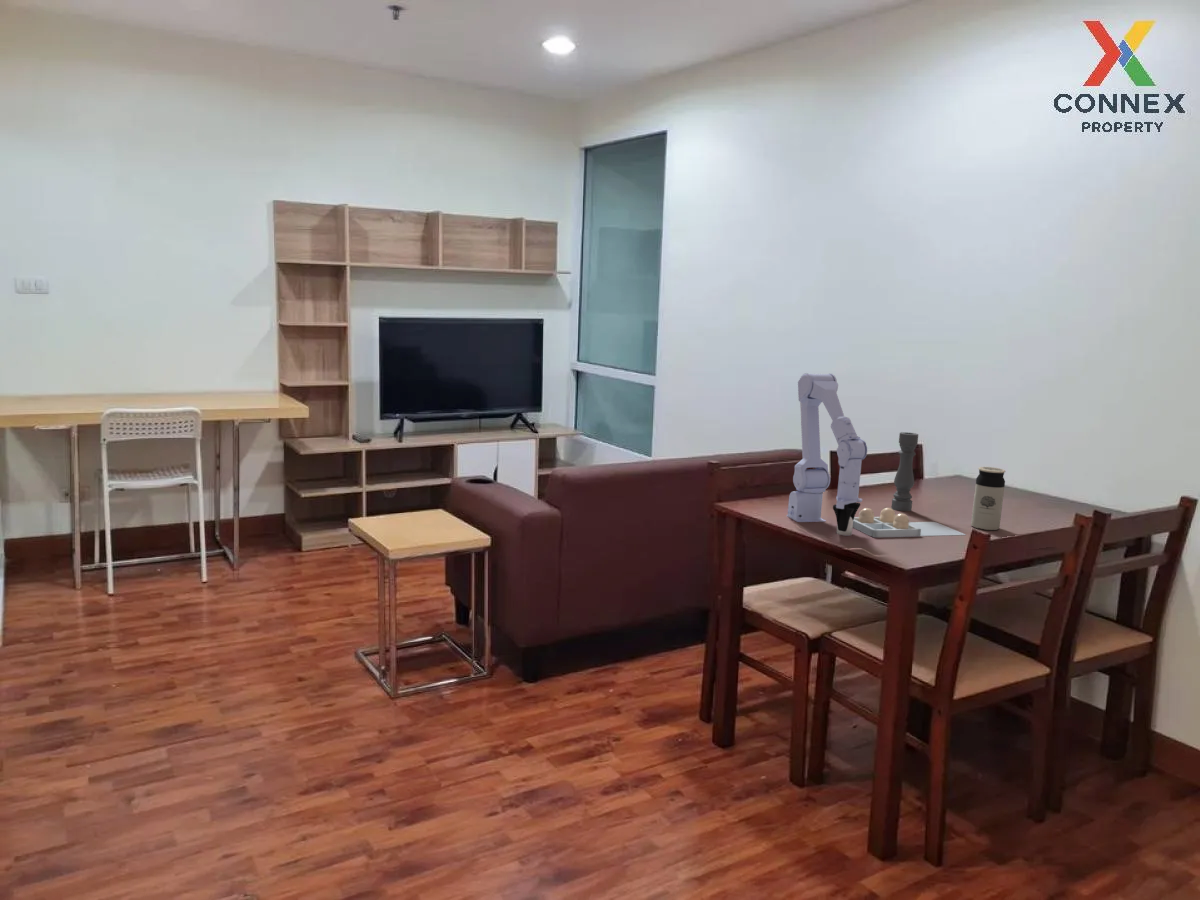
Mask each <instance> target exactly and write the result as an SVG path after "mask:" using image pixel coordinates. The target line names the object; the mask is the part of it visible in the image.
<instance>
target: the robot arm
mask: <svg viewBox="0 0 1200 900" xmlns="http://www.w3.org/2000/svg"><path fill="white" fill-rule="evenodd" d="M838 389H839V383H838V382H837V378H836V376H835V375H834V374H833V373H807V372H806V373H803V374H802V375H801V376H800V378H799V380H798V381H797V391H798V392H797V393H798V395H797V396H798V397H797V398H798V402H799V403H800V406H799V407H800V427H801V428H800V429H801V430H800V431H801V448H802V449H801V450H802V451H801V453H802V456H801V457H802V459H800V461H798V462H797V463H796V464H795V465H794V473H793V476H792V482H793V485H794V487H795V490H794V491H791V492H790V493H789V496H788V504H787V505H788V506H787V514H786V515H785V516H786V517H788V518H790V519H791V520H793V521H795V522H797V523H809V522H810V523H814V522H815V523H817V522H819V523H820V522H827V520H826V519H823V518H822V509H823V508H822V507H823V497H824V493H825V492H826V489H828V488H829V486H830V484H831V474H830V472H829V466H828V464H827V463H826V462H825V461H824V459H822V458H821V436H820V415H819V412H820V411H819V407H820V405H821V404H822V403H823V405H824V407H825V409H826V411H827V413H828V415H829V417H830V419H831V423H830V429H831V430H832V433H833V436H834V438H835V440H836V443H837V445H838V446H837V448H836V453H837V457H838V461H837V463H838V466H839V472H838V473H839V474H838V484H837V493H836V494H837V495H836V497H835V499H836V503H835V504H832V509H833V511H834V514H835V517H836V524H837V525H836V527H837V526H838V530H839V531H846V530H847V527H848V523H849V519H850V516H851V518H852V519H853V520H854V517H856V514H857V511H858V510H859V508H861V503H862V502H863V498H859V493H860V492H859V491H860V480H861V472H862V461H863V460H865V458H866V457H867V455H868V446H867V442H866V441H865V440H864V439H863V438H861V437H860V436H858V434H857V432H856V430H855V428H854V424H853V423H852V421H851V419H850V417H847V416H845V415H844V411H843V408H842V405H841V403H840V402H841V401H840V400H839V396H838V394H837V393H838ZM809 468H810V469H809Z"/></svg>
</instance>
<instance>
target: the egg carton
mask: <svg viewBox="0 0 1200 900" xmlns="http://www.w3.org/2000/svg"><path fill="white" fill-rule="evenodd" d="M852 529H855V530H857V531H860V532H862V533H864V534H865V535H867V536H870V537H872V538H904V537H905V538H907V537H908V538H909V537H911V538H912V537H915V538H916V537H945V536H946V537H947V536H949V537H950V536H951V537H952V536H966V535H967V534H965V533H963V532H962V531H961V532H960V531H958V530H956V529H954V528H951V527H949V526H946V525H944V524H941V523H940V522H936V521H915V522H913V521H909V526H908V529H896V528H894V527H893V523H883V522H881V521H880V516H874V522H873V523H861V522H859V516H855V517H854V520H853V527H852Z"/></svg>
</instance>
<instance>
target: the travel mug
mask: <svg viewBox="0 0 1200 900" xmlns="http://www.w3.org/2000/svg"><path fill="white" fill-rule="evenodd" d="M977 469H978V472H979V473H978V475H977V477H976V478H975V487H974V496H973V503H972V512H971V522H970V525H971V526H972V527H973V528H975V529H978V528H981V529H980V530H982V529H984V530H983V531H997V530H1000V526H1001V519H1002V510H1003V501H1004V494H1005V485H1006V480H1005V477H1004V475H1005V473H1006V470H1005V468H1004V469H1003V468H999V467H994V466H993V467H992V466H979V467H978V468H977Z"/></svg>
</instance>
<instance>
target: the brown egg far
mask: <svg viewBox="0 0 1200 900" xmlns="http://www.w3.org/2000/svg"><path fill="white" fill-rule="evenodd" d="M895 516H896V511H895V510H893V509H891V507H885V508H883V509H881V511H880V515H879V517H880V521H881V522H883V523H893V521H894V517H895Z"/></svg>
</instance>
